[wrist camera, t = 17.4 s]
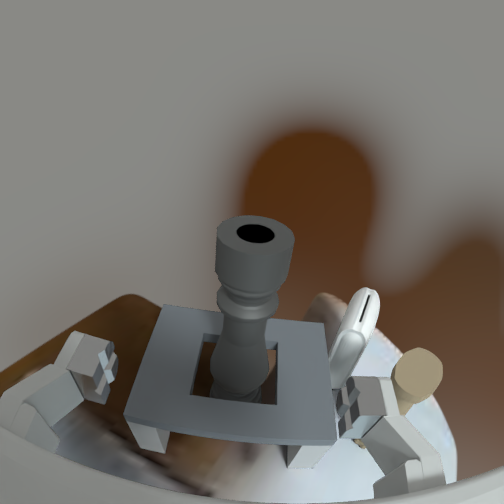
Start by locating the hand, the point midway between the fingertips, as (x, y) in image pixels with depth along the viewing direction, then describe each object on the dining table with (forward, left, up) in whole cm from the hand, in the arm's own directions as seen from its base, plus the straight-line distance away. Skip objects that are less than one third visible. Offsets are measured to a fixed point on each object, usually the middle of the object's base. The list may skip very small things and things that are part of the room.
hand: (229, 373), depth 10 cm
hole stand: (0, +14, -27) cm, 31 cm away
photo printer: (+15, +23, -28) cm, 39 cm away
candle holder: (0, +14, -28) cm, 31 cm away
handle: (+17, +10, -28) cm, 34 cm away
